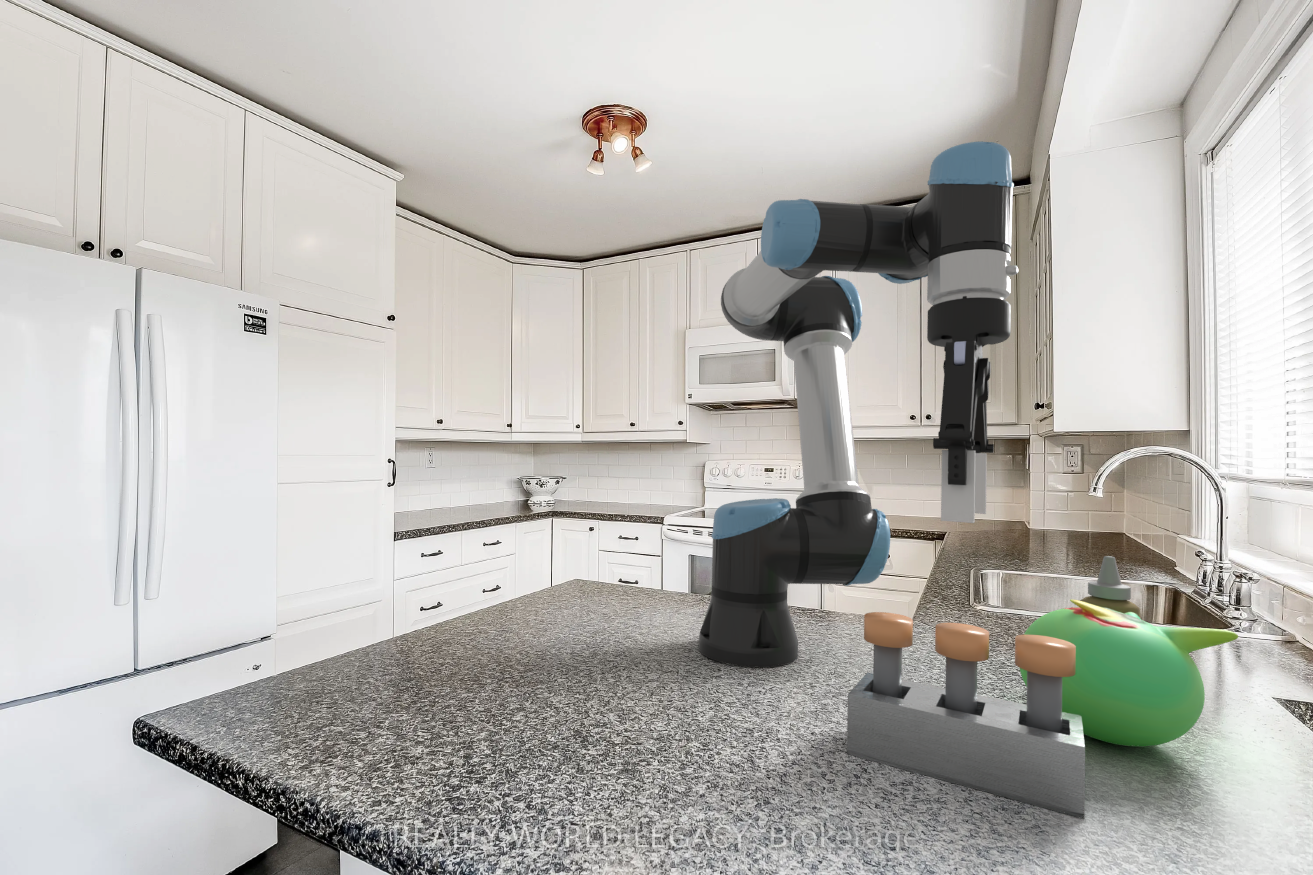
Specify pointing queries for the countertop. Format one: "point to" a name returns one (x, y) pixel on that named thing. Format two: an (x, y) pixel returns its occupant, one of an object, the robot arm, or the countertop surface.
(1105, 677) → the toy bird
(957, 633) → the knob middle
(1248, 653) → the countertop surface
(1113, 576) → the squeeze bottle
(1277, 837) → the countertop surface
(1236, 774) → the countertop surface
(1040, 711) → the knob
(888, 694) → the knob
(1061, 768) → the mount
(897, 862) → the countertop surface
